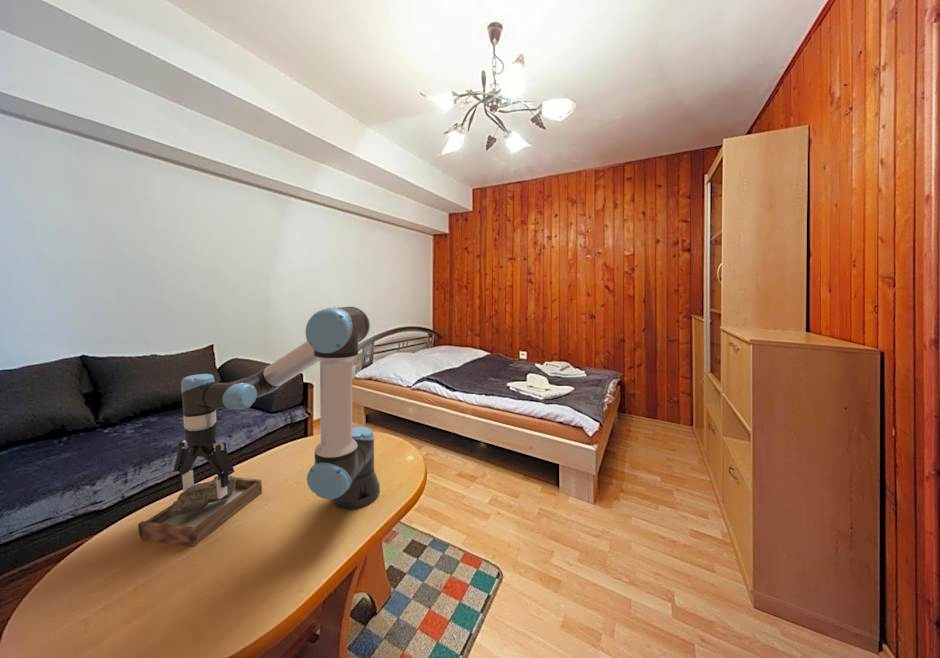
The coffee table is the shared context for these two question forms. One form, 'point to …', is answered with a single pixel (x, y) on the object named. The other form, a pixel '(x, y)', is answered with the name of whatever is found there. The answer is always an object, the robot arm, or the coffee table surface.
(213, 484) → the rock
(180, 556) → the coffee table surface
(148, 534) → the wooden tray
